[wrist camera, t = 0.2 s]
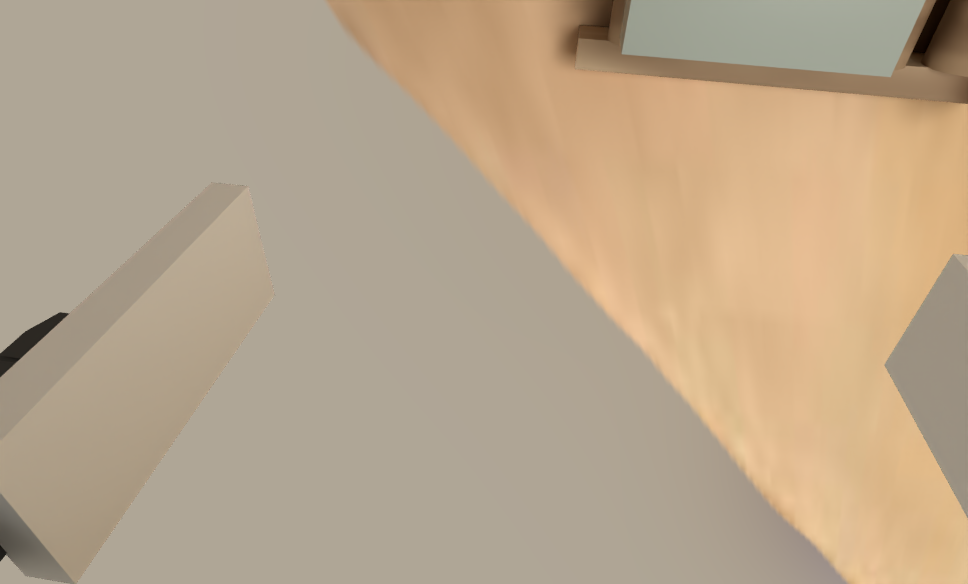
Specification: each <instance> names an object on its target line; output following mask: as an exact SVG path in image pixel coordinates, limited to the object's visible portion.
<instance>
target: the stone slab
mask: <svg viewBox="0 0 968 584" xmlns="http://www.w3.org/2000/svg"><path fill="white" fill-rule="evenodd" d="M925 1H926V0H626V1H625V7H624V13H623V19H622V25H621V30H620V36H619V38H620V46H621V54H625V55H637V56H649V57H660V58H672V59H684V60H695V61H707V62H719V63H730V64H742V65H754V66H766V67H777V68H789V69H801V70H812V71H824V72H836V73H847V74H859V75H871V76H883V77H891V75H892V73H893V71H894V68H895V66H896V64H897V62H898V60H899V57H900V55H901V53H902V51H903V49H904V47H905V44H906V42H907V40H908V38H909V36H910V33H911V31H912V29H913V27H914V25H915V23H916V20H917V18H918V16H919V14H920V12H921V9H922V7H923V5H924V3H925Z"/></svg>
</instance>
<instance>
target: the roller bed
mask: <svg viewBox="0 0 968 584" xmlns="http://www.w3.org/2000/svg"><path fill="white" fill-rule="evenodd" d="M625 1H626V0H613V6H612V12H611V18H610V24H609V27H598V26H586V25H580V27H579V35H578V42H577V50H576V59H575V69H580V70H591V71H602V72H614V73H625V74H636V75H648V76H659V77H670V78H682V79H693V80H704V81H716V82H727V83H738V84H750V85H761V86H772V87H784V88H795V89H806V90H818V91H829V92H840V93H852V94H863V95H874V96H886V97H897V98H908V99H920V100H931V101H942V102H954V103H965V104H968V0H950V2H949V4H948V6H947V9H946V11H945V13H944V15H943V17H942V19H941V21H940V23H939V25H938V27H937V29H936V31H935V33H934V36H933V38H932V40H931V42H930V44H929V46H928V48H927V50H926V52H925V53H916V52H912V51H913V49H914V47H915V45H916V42H917V40H918V38H919V36H920V34H921V32H922V30H923V27H924V25H925V23H926V21H927V19H928V17H929V15H930V12H931V10H932V8H933V6H934V4H935V2H936V0H926V1H925V3H924V5H923V7H922V9H921V12H920V14H919V16H918V18H917V20H916V23H915V25H914V27H913V29H912V31H911V33H910V36H909V38H908V40H907V42H906V44H905V47H904V49H903V51H902V53H901V55H900V57H899V60H898V62H897V64H896V66H895V68H894V71H893V73H892V75H891V77H883V76H871V75H859V74H847V73H836V72H824V71H812V70H801V69H789V68H777V67H766V66H754V65H742V64H730V63H719V62H707V61H695V60H684V59H672V58H660V57H649V56H637V55H625V54H621V46H620V38H619V36H620V30H621V25H622V19H623V13H624V7H625Z"/></svg>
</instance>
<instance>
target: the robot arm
mask: <svg viewBox="0 0 968 584" xmlns="http://www.w3.org/2000/svg"><path fill="white" fill-rule="evenodd" d="M274 295H275V294H274V290H273V286H272V282H271V277H270V273H269V269H268V266H267V261H266V257H265V253H264V249H263V245H262V241H261V237H260V232H259V228H258V224H257V220H256V216H255V212H254V208H253V204H252V200H251V196H250V191H249V187H248V186H243V185H233V184H232V185H231V184H222V183H211V184H210V185H209V186H208V187H206V188H205V189H204V190H203V191H202V192H201V193H200V194H199V195H198V196H197V197H195V199H193V200H192V201H191V202H190V203H189V204H188V205H187V206H186V207H185V208H184V209H183V210H181V211H180V212H179V213H178V214H177V215H176V216H175V217H174V218H173V219H172V220H171V221H169V222H168V223H167V224H166V225H165V226H164V227H163V228H162V229H161V230H160V231H159V232H158V233H156V234H155V235H154V236H153V237H152V238H151V239H150V240H149V241H148V242H147V243H146V244H145V245H144V246H142V247H141V248H140V249H139V250H138V251H137V252H136V253H135V254H134V255H133V256H132V257H131V258H129V259H128V260H127V261H126V262H125V263H124V264H123V265H122V266H121V267H120V268H118V269H117V270H116V271H115V272H114V273H113V274H112V275H111V276H110V277H109V278H108V279H107V280H105V281H104V282H103V283H102V284H101V285H100V286H99V287H98V288H97V289H96V290H95V291H94V292H92V294H90V295H89V296H88V297H87V298H86V299H85V300H84V301H83V302H82V303H80V305H78V306H77V307H76V308H75V309H74V310H73V311H72V312H71V313H70V314H68V313H58V314H56V315H55V316H53V317H51V318H49V319H47V320H45V321H44V322H42V323H40V324H38V325H36V326H35V327H33V328H31V329H29V330H28V331H25V333H23V334H22V335H21V336H20V337H19V338H18V339H17V340H15V341H14V342H13V343H12V344H11V345H10V346H8V347H7V348H6V349H5V350H4V351H3V352H2V353H0V561H1V560H2V559H3V557H4V556H5V555H7V556H8V557H9V558H10V559H11V560H12V561H13V562H14V564H15V565H16V566H17V567H18V568H19V569H20V570H21V571H22V572H23V573H24V575H25V576H29V577H35V578H41V579H47V580H52V581H58V582H64V583H70V584H76V583H77V582H78V580H79V579H80V578H81V576H82V575H83V573H84V572H85V570H86V569H87V567H88V566H89V564H90V563H91V562H92V560H93V559H94V557H95V556H96V554H97V553H98V551H99V550H100V548H101V547H102V545H103V544H104V542H105V541H106V540H107V538H108V537H109V535H110V534H111V532H112V531H113V530H114V528H115V527H116V525H117V524H118V522H119V521H120V519H121V518H122V516H123V515H124V514H125V512H126V510H127V509H128V508H129V506H130V505H131V503H132V502H133V500H134V499H135V497H136V496H137V495H138V493H139V492H140V490H141V489H142V487H143V486H144V484H145V483H146V482H147V480H148V479H149V477H150V475H151V474H152V472H153V471H154V470H155V468H156V467H157V465H158V464H159V463H160V461H161V460H162V458H163V457H164V455H165V454H166V452H167V451H168V449H169V448H170V447H171V445H172V444H173V442H174V441H175V439H176V438H177V436H178V435H179V433H180V432H181V431H182V429H183V428H184V426H185V425H186V423H187V422H188V420H189V419H190V417H191V416H192V415H193V413H194V412H195V410H196V409H197V407H198V406H199V404H200V403H201V401H202V400H203V398H204V397H205V396H206V394H207V393H208V391H209V390H210V388H211V387H212V385H213V384H214V383H215V381H216V380H217V378H218V376H219V375H220V374H221V372H222V371H223V369H224V368H225V367H226V365H227V363H228V362H229V361H230V359H231V358H232V356H233V355H234V353H235V352H236V350H237V349H238V348H239V346H240V344H241V343H242V342H243V340H244V339H245V337H246V336H247V334H248V333H249V331H250V330H251V329H252V327H253V326H254V324H255V323H256V321H257V320H258V318H259V317H260V316H261V314H262V313H263V311H264V309H265V308H266V307H267V305H268V304H269V302H270V301H271V299H272V298H273V297H274ZM885 367H886V369H887V371H888V372H889V374H890V376H891V378H892V380H893V382H894V383H895V385H896V387H897V389H898V391H899V393H900V395H901V396H902V398H903V400H904V402H905V404H906V406H907V407H908V409H909V411H910V413H911V415H912V417H913V418H914V420H915V422H916V424H917V426H918V428H919V430H920V431H921V433H922V435H923V437H924V439H925V441H926V442H927V444H928V446H929V448H930V450H931V452H932V453H933V455H934V457H935V459H936V461H937V463H938V464H939V466H940V468H941V470H942V472H943V474H944V476H945V477H946V479H947V481H948V483H949V485H950V487H951V488H952V490H953V492H954V494H955V496H956V498H957V499H958V501H959V503H960V505H961V507H962V509H963V510H964V512H965V514H966V516H967V518H968V255H959V254H953V255H952V256H951V258H950V260H949V261H948V263H947V264H946V266H945V268H944V269H943V271H942V273H941V274H940V276H939V277H938V279H937V281H936V282H935V284H934V285H933V287H932V289H931V290H930V292H929V294H928V295H927V297H926V298H925V300H924V302H923V303H922V305H921V306H920V308H919V310H918V311H917V313H916V315H915V316H914V318H913V319H912V321H911V323H910V324H909V326H908V327H907V329H906V331H905V332H904V334H903V336H902V337H901V339H900V340H899V342H898V344H897V345H896V347H895V348H894V350H893V352H892V353H891V355H890V356H889V358H888V360H887V361H886V363H885Z"/></svg>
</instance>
